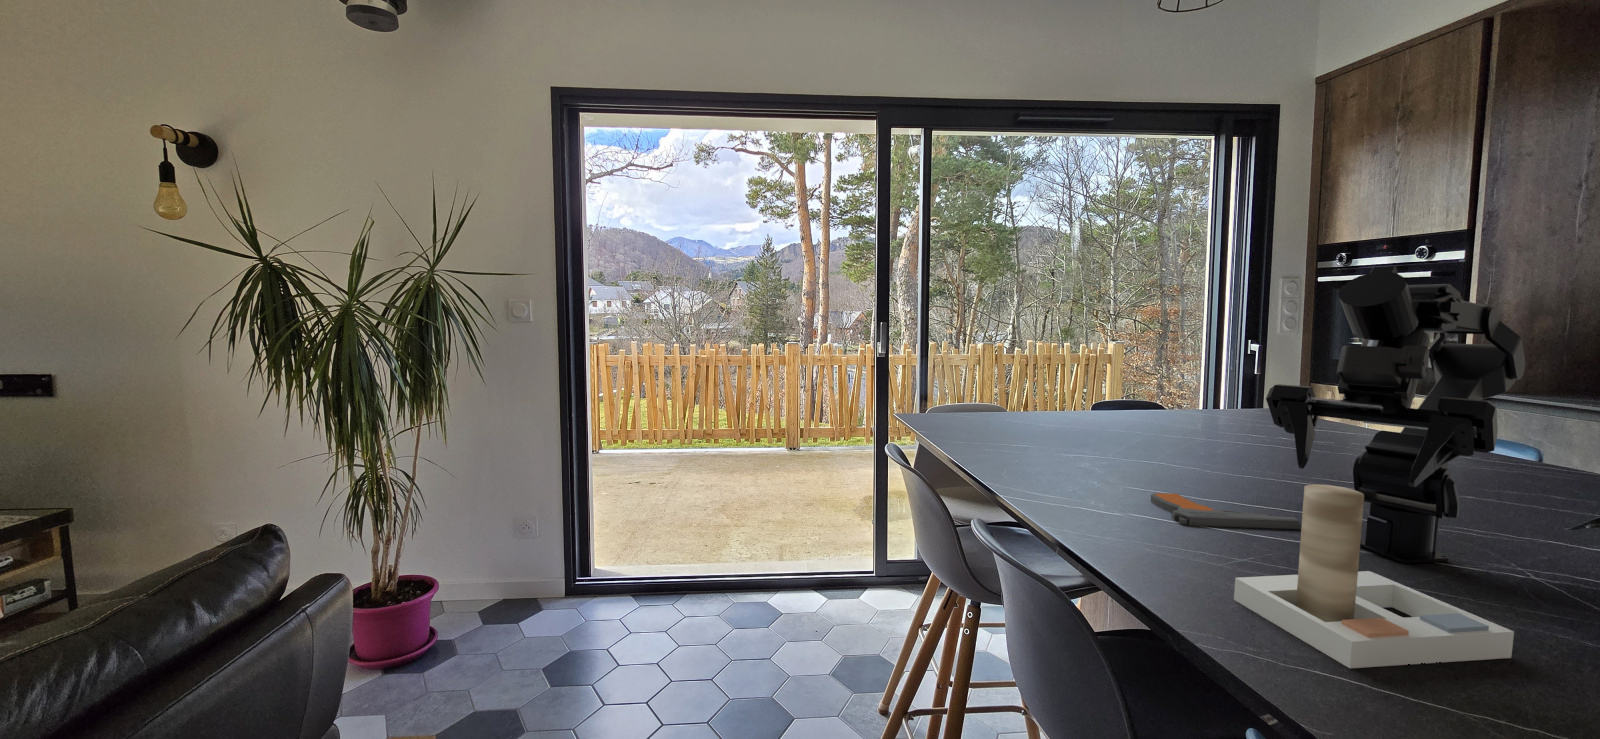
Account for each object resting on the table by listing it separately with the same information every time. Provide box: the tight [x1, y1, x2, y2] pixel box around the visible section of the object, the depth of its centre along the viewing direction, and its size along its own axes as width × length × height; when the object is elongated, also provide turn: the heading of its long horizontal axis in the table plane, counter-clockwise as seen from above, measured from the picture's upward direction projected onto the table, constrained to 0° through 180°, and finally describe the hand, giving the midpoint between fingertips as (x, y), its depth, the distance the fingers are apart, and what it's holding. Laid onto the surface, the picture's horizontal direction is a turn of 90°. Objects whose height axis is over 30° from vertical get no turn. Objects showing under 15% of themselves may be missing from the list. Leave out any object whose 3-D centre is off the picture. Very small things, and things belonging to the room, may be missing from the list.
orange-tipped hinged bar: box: [1150, 492, 1301, 530], centre depth 95 cm, size 2×16×12 cm
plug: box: [1296, 484, 1365, 622], centre depth 61 cm, size 4×4×14 cm
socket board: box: [1233, 570, 1515, 669], centre depth 62 cm, size 16×13×3 cm
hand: (1353, 475), depth 67 cm, fingers open, 9 cm apart
